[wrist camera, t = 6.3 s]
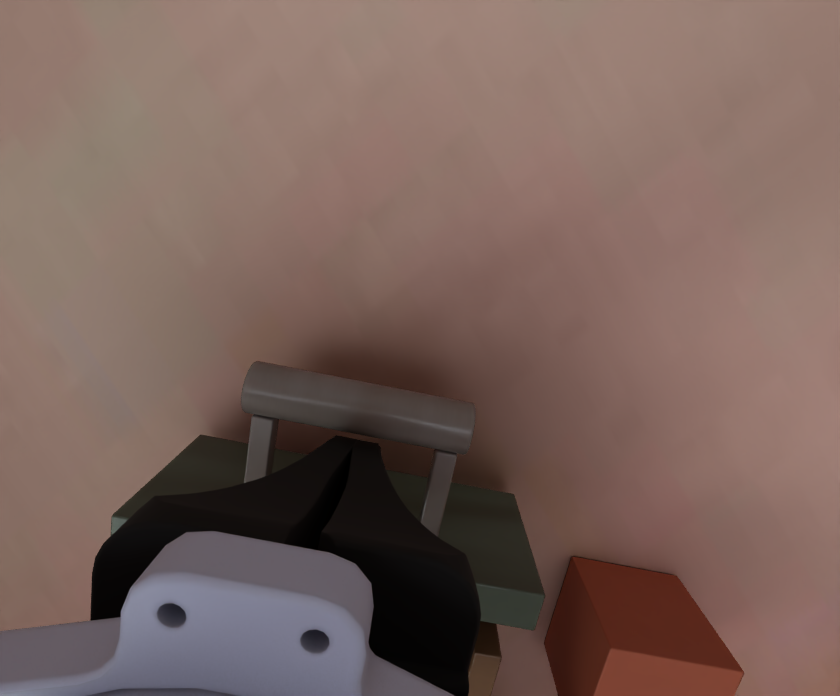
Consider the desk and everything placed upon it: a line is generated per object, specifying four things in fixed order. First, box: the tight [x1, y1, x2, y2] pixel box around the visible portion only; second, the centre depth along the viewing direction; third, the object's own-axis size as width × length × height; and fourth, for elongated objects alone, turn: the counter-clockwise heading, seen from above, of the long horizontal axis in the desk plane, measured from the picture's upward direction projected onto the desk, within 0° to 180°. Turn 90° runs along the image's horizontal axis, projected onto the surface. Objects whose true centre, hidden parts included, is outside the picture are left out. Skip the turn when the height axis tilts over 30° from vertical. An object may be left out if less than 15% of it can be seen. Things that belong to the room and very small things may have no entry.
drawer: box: [111, 361, 545, 696], centre depth 16 cm, size 17×12×5 cm
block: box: [544, 557, 744, 696], centre depth 18 cm, size 4×4×4 cm
